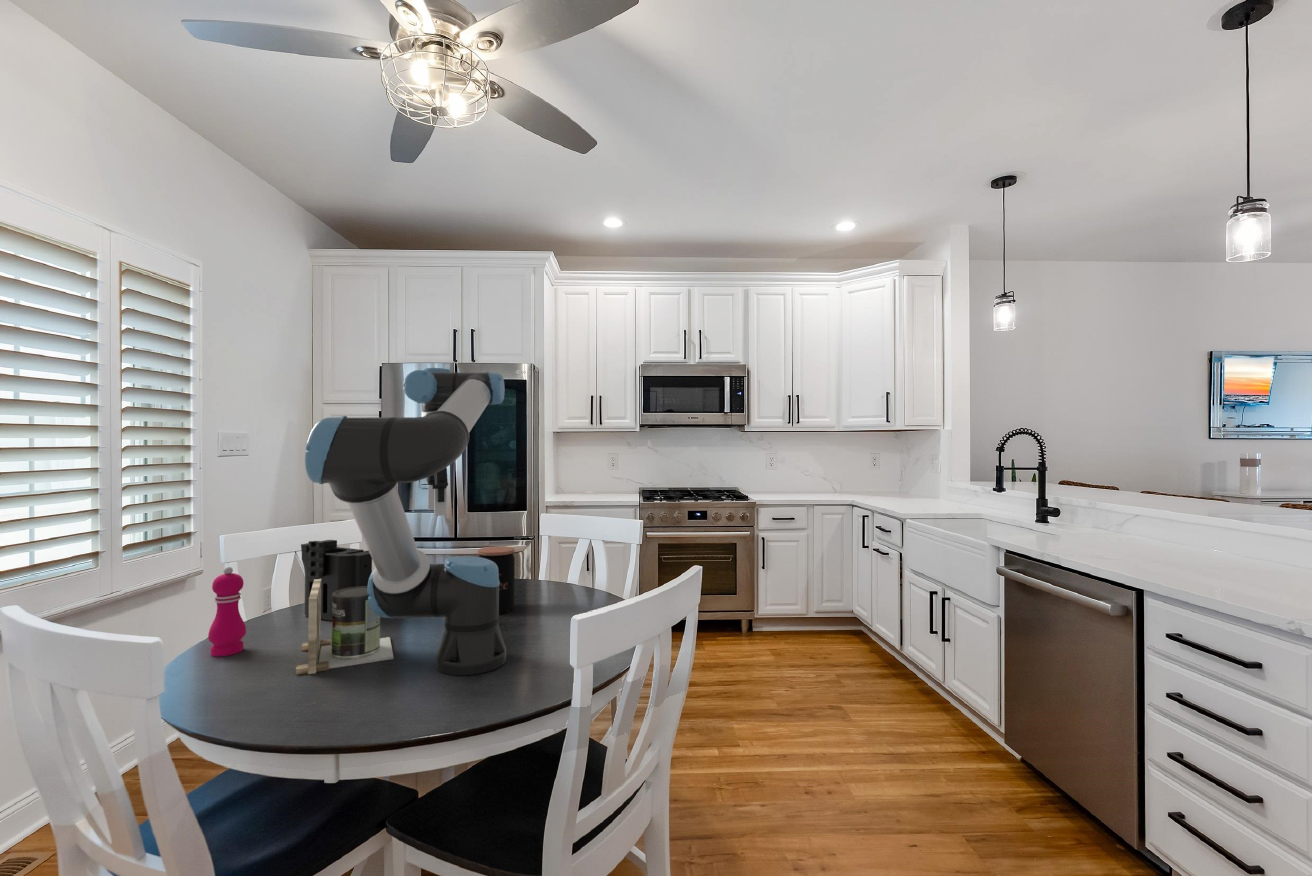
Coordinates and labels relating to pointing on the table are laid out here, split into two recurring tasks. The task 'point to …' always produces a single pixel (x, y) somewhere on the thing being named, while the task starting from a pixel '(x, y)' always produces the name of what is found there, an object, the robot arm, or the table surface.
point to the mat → (381, 655)
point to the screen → (314, 634)
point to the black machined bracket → (333, 571)
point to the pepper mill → (227, 615)
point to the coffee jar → (502, 573)
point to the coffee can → (354, 624)
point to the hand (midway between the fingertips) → (436, 512)
